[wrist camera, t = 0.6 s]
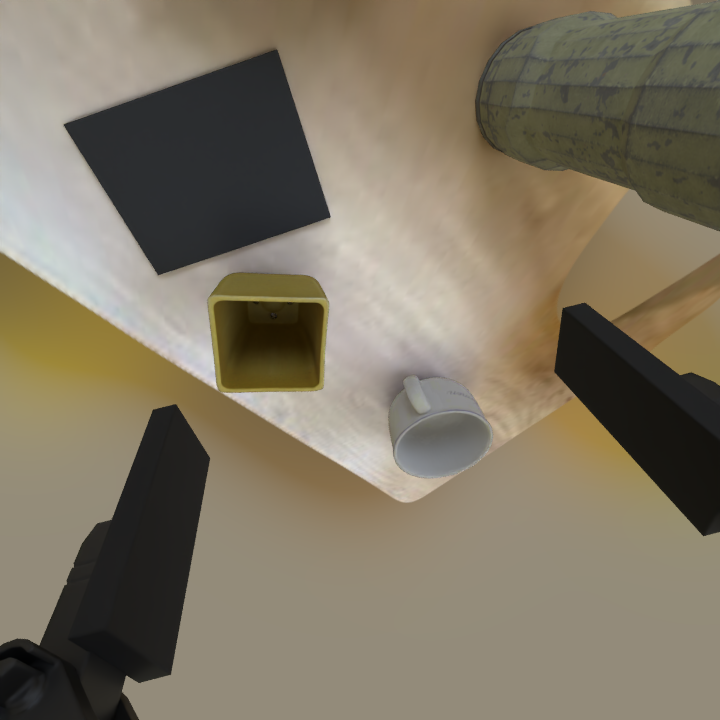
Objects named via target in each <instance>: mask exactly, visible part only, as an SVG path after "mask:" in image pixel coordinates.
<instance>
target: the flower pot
mask: <svg viewBox="0 0 720 720" xmlns="http://www.w3.org/2000/svg"><path fill="white" fill-rule="evenodd" d="M254 301H259V302H257V303H256V302H254ZM288 302H293V303H288ZM208 312H209V320H210V328H211V336H212V346H213V354H214V364H215V375H216V383H217V388H218V390H219V391H220V392H225V393H241V392H296V391H300V392H302V391H317V390H321V389H323V386H324V364H325V346H326V333H327V323H328V313H329V301H328V299H327V297H326V295H325V293H324V291H323V290H322V288H321V286H320V284H319V283H318V281H317V280H316V279H314V278H313V277H310V276H306V275H285V274H258V273H233V274H230V275H228V276H226V277H224V278H223V279H222V280H221V282H220V283H219V284H218V286H217V287H216V288H215V290H214V291H213V292H212V294H211V295H210V296H209V298H208ZM272 313H275V314H276V317H275V318H272V317H271V314H272Z"/></svg>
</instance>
